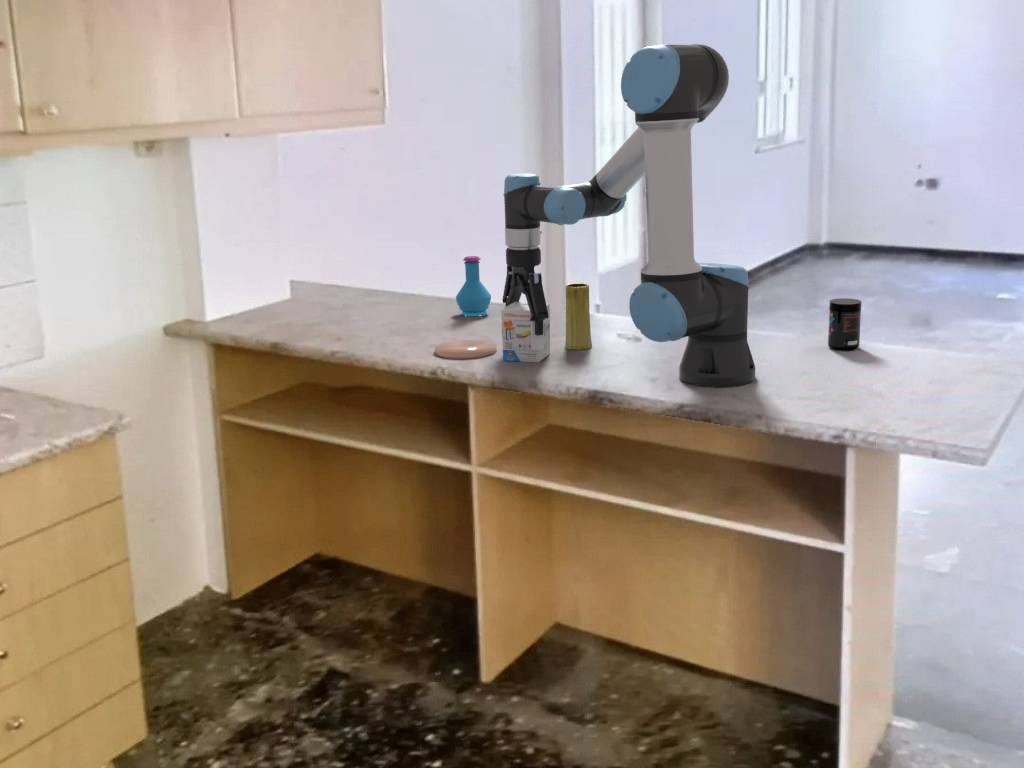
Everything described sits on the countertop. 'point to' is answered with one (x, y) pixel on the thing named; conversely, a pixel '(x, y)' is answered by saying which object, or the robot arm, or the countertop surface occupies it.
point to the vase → (577, 317)
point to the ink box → (522, 334)
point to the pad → (465, 349)
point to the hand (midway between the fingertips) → (525, 342)
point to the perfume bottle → (473, 290)
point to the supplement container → (844, 324)
